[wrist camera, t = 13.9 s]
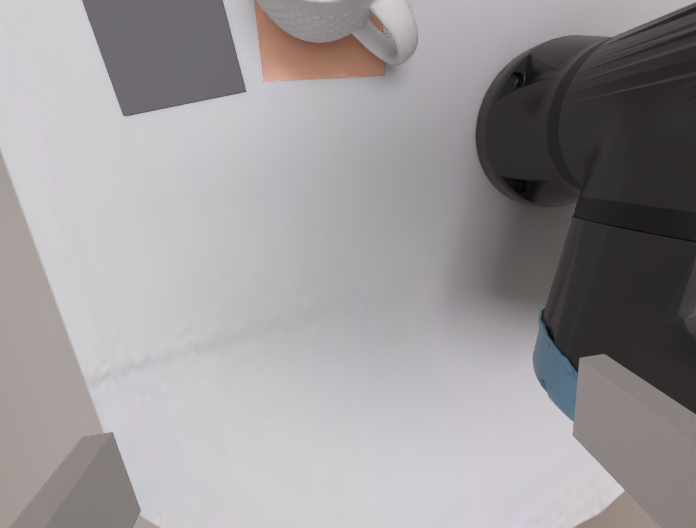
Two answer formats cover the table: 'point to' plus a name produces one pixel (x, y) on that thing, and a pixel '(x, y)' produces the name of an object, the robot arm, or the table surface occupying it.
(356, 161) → the table surface
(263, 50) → the terracotta tile
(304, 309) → the table surface
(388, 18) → the mug
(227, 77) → the charcoal mat
